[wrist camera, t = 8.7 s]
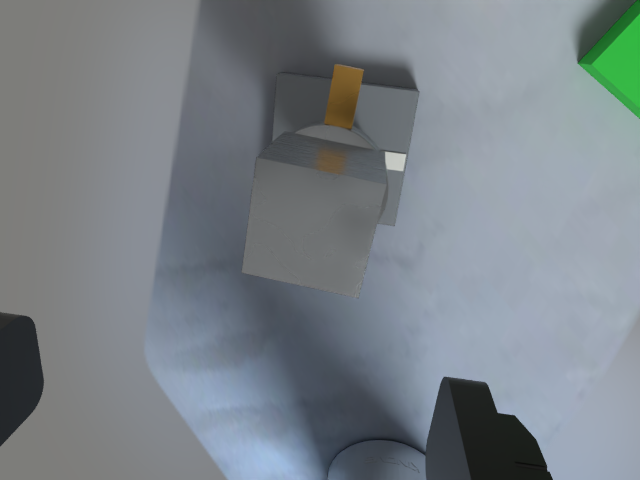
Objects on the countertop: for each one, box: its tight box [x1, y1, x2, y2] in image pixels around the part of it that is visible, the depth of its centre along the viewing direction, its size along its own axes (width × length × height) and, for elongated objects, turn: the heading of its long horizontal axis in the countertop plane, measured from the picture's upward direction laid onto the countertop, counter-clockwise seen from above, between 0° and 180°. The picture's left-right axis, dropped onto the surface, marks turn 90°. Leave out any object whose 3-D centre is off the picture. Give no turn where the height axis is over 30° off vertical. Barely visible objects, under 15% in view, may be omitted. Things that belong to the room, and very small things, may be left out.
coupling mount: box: [272, 72, 419, 226], centre depth 26 cm, size 8×8×7 cm
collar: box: [242, 64, 389, 298], centre depth 19 cm, size 6×8×7 cm
